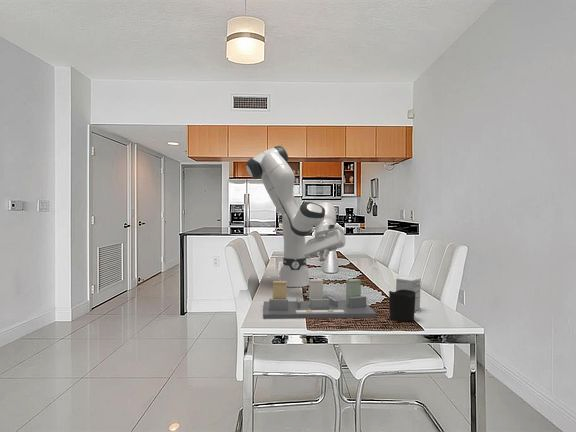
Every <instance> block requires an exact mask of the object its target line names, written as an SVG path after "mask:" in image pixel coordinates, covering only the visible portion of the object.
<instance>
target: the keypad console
mask: <svg viewBox="0 0 576 432" xmlns="http://www.w3.org/2000/svg"><path fill="white" fill-rule="evenodd" d="M377 315H378V314H377V312H376V311H375V310H374V309H373V308H372V307H370V305H369V304H367V296H365V295H361V296H357V297H349V306H348V305H346V300H337V299H335V298H334V297H332V296H330V295H325V298H323V299H311V305H309V300H301V297H300V296H296V300H295V301H294V300H292V301H291V300H289V299H288V298H287V299H273V298H269V300H268V301H263V319H267V320H268V319H271V320H272V319H341V318H342V319H343V318H345V319H347V318H349V319H350V318H351V319H352V318H353V319H355V318H356V319H357V318H361V319H362V318H363V319H364V318H366V319H367V318H377Z"/></svg>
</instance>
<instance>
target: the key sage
mask: <svg viewBox="0 0 576 432" xmlns="http://www.w3.org/2000/svg"><path fill="white" fill-rule="evenodd" d="M357 296H362V280H361V279H360V278H354V279H353V278H351V279H346V280H345V301H346V305H348V306H349V297H357Z"/></svg>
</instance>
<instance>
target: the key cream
mask: <svg viewBox="0 0 576 432" xmlns="http://www.w3.org/2000/svg"><path fill="white" fill-rule="evenodd" d="M308 286H309V287H308V288H309V289H308V290H309V291H308V301H309V305H311V299H324V280H323V279H322V278H315V279H313V278H311V279H310V278H309V285H308Z"/></svg>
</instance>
